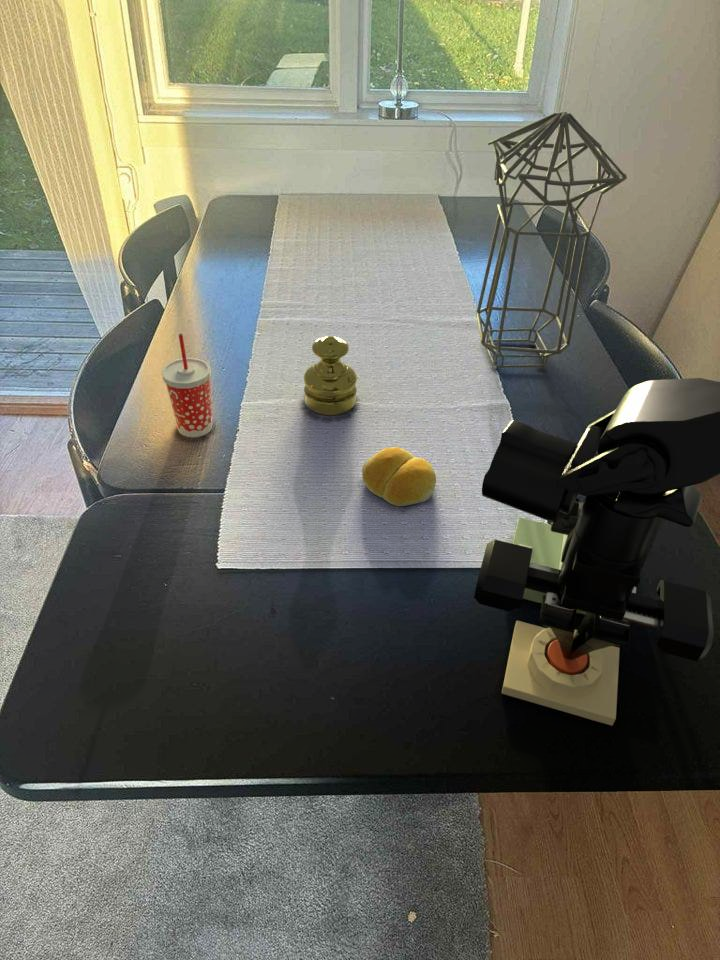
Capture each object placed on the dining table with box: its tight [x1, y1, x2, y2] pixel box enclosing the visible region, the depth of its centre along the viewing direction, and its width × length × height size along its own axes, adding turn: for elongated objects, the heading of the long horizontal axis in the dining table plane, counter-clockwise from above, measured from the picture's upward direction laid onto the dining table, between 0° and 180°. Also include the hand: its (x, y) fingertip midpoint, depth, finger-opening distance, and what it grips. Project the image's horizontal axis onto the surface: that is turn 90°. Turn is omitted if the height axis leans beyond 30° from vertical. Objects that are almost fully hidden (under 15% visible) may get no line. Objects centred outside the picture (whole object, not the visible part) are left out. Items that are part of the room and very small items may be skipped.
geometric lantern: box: [475, 111, 628, 369], centre depth 99 cm, size 16×16×35 cm
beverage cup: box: [161, 333, 214, 438], centre depth 90 cm, size 6×6×14 cm
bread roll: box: [361, 446, 437, 507], centre depth 85 cm, size 8×9×4 cm
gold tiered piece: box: [303, 335, 358, 416], centre depth 96 cm, size 7×7×10 cm
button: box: [545, 640, 588, 675], centre depth 65 cm, size 4×4×2 cm
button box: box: [501, 620, 621, 727], centre depth 66 cm, size 10×8×3 cm
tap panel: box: [511, 516, 587, 616], centre depth 75 cm, size 12×11×3 cm
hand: (568, 654), depth 64 cm, fingers closed, pressing on button
